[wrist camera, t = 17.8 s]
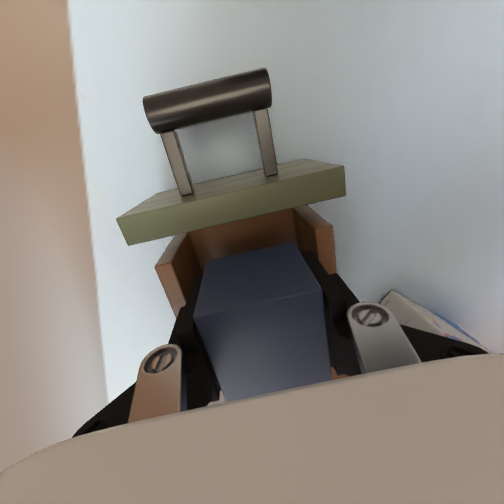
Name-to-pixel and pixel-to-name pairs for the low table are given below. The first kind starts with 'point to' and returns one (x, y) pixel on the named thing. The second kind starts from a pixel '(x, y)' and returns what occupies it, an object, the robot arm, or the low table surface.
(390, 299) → the ink box
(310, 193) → the drawer
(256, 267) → the block
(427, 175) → the low table surface
